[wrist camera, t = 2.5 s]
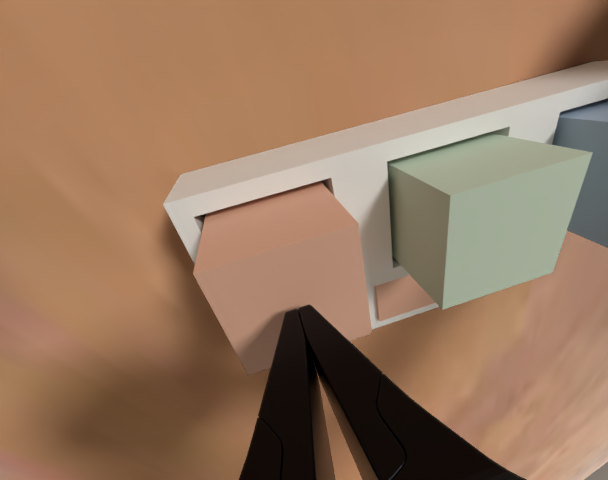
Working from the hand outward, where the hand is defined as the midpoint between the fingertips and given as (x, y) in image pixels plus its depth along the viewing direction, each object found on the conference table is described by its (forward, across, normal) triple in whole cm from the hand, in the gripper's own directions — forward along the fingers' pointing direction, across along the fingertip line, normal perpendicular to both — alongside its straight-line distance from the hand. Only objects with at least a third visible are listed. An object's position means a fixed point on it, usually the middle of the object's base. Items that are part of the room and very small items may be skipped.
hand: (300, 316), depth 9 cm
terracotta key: (+5, 0, 0) cm, 5 cm away
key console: (+8, -8, 0) cm, 11 cm away
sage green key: (+5, -8, 0) cm, 10 cm away
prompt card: (+8, -8, +8) cm, 14 cm away
